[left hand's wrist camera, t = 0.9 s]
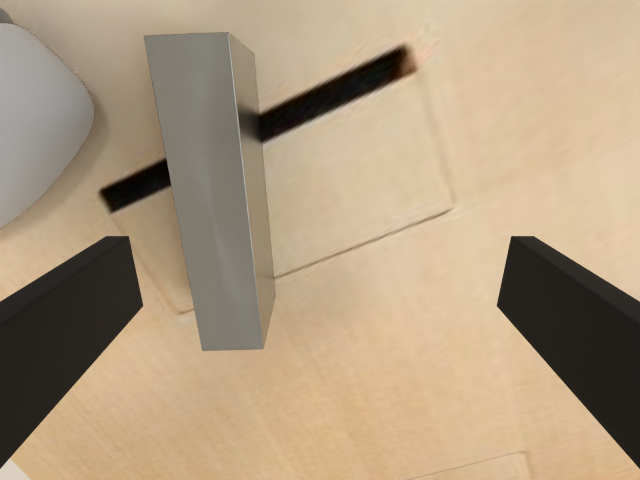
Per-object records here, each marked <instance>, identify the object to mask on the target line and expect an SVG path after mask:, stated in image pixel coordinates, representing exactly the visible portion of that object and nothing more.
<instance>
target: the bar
mask: <svg viewBox="0 0 640 480" xmlns="http://www.w3.org/2000/svg"><path fill="white" fill-rule="evenodd" d="M144 40H145V45H146V50H147V56H148V61H149V67H150V72H151V77H152V83H153V88H154V94H155V99H156V104H157V110H158V115H159V120H160V126H161V131H162V137H163V142H164V147H165V153H166V158H167V164H168V169H169V174H170V180H171V185H172V191H173V196H174V201H175V207H176V212H177V217H178V223H179V228H180V234H181V239H182V244H183V250H184V255H185V261H186V266H187V271H188V277H189V282H190V288H191V293H192V298H193V304H194V309H195V314H196V320H197V325H198V331H199V336H200V341H201V347H202V351H214V350H248V349H264V345H265V340H266V336H267V332H268V327H269V323H270V318H271V314H272V310H273V305H274V301H275V285H274V274H273V263H272V252H271V240H270V229H269V218H268V207H267V196H266V184H265V173H264V162H263V151H262V140H261V128H260V117H259V106H258V95H257V84H256V72H255V61H254V53H253V52H252V51H251V50H249V49H248V48H247V47H246V46H245V45H243V44H242V43H241V42H240V41H238V40H237V39H236V38H235V37H234V36H232V35H231V34H230V33H228V32H220V33H194V34H167V35H145V36H144Z"/></svg>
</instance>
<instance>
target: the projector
mask: <svg viewBox="0 0 640 480" xmlns="http://www.w3.org/2000/svg"><path fill="white" fill-rule="evenodd" d="M94 114H95V112H94V105H93V102H92V99H91V97H90V95H89V93H88V91H87V89H86V87H85V86H84V84H83V83H82V82H81V80H80V79H79V78H78V77H77V76H76V75H75V74H74V73H73V71H72V70H71V69H70V68H69V67H68V66H67V65H66V64H65V63H64V62H63V61H61V60H60V59H59V58H58V57H57V56H56V55H55V54H54V53H53V52H52V51H51V50H50V49H48V48H47V47H46V46H45V45H44V44H43V43H42V42H40V41H39V40H38V39H37V38H36V37H35V36H34V35H32V34H31V33H30V32H29V31H27V30H26V29H24V28H22V27H19V26H16V25H14V24H13V22H12V20H11V18H10V17H9V15H8V14H7V13H6V12H5V11H4V10H3V9H2V8H1V7H0V229H1V228H2V227H4V226H6V225H7V224H9V223H10V222H11V221H13V220H14V219H16V218H17V217H18V216H20V215H21V214H22V213H23V212H25V211H26V210H27V209H28V208H29V207H31V206H32V205H33V204H34V203H35V202H36V201H37V200H38V199H39V198H40V197H41V196H42V195H43V194H44V193H45V192H46V191H47V190H48V189H49V188H50V187H51V185H52V184H53V183H54V182H55V181H56V180H57V179H58V177H59V176H60V175H61V174H62V173H63V171H64V170H65V169H66V168H67V166H68V165H69V164H70V162H71V161H72V159H73V158H74V157H75V155H76V154H77V152H78V151H79V149H80V148H81V146H82V145H83V143H84V141H85V139H86V138H87V136H88V134H89V132H90V129H91V127H92V124H93V121H94Z"/></svg>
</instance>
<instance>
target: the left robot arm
mask: <svg viewBox="0 0 640 480" xmlns="http://www.w3.org/2000/svg"><path fill="white" fill-rule="evenodd" d="M142 307H143V302H142V298H141V293H140V288H139V283H138V279H137V274H136V269H135V264H134V259H133V255H132V250H131V245H130V240H129V236H106V237H104V238H103V239H101V240H100V241H98V242H96V243H95V244H93V245H91V246H90V247H88V248H87V249H85V250H83V251H82V252H80V253H78V254H77V255H75V256H74V257H72V258H70V259H69V260H67V261H65V262H64V263H62V264H61V265H59V266H57V267H56V268H54V269H53V270H51V271H49V272H48V273H46V274H44V275H43V276H41V277H40V278H38V279H36V280H35V281H33V282H31V283H30V284H28V285H27V286H25V287H23V288H22V289H20V290H18V291H17V292H15V293H14V294H12V295H10V296H9V297H7V298H5V299H4V300H2V301H1V302H0V468H1V467H2V466H3V465H4V464H5V463H6V462H7V460H8V459H9V458H10V457H11V456H12V455H13V454H14V453H15V451H16V450H17V449H18V448H19V447H20V446H21V445H22V443H23V442H24V441H25V440H26V439H27V438H28V437H29V435H30V434H31V433H32V432H33V431H34V430H35V429H36V427H37V426H38V425H39V424H40V423H41V422H42V421H43V419H44V418H45V417H46V416H47V415H48V414H49V413H50V411H51V410H52V409H53V408H54V407H55V406H56V405H57V404H58V402H59V401H60V400H61V399H62V398H63V397H64V396H65V394H66V393H67V392H68V391H69V390H70V389H71V388H72V386H73V385H74V384H75V383H76V382H77V381H78V380H79V378H80V377H81V376H82V375H83V374H84V373H85V372H86V370H87V369H88V368H89V367H90V366H91V365H92V364H93V363H94V361H95V360H96V359H97V358H98V357H99V356H100V355H101V353H102V352H103V351H104V350H105V349H106V348H107V347H108V345H109V344H110V343H111V342H112V341H113V340H114V339H115V337H116V336H117V335H118V334H119V333H120V332H121V331H122V329H123V328H124V327H125V326H126V325H127V324H128V323H129V322H130V320H131V319H132V318H133V317H134V316H135V315H136V314H137V312H138V311H139V310H140V309H141V308H142ZM497 307H498V308H499V309H500V310H501V311H502V312H503V314H504V315H505V316H506V317H507V318H508V319H509V320H510V322H511V323H512V324H513V325H514V326H515V327H516V328H517V329H518V331H519V332H520V333H521V334H522V335H523V336H524V337H525V339H526V340H527V341H528V342H529V343H530V344H531V345H532V347H533V348H534V349H535V350H536V351H537V352H538V353H539V355H540V356H541V357H542V358H543V359H544V360H545V361H546V363H547V364H548V365H549V366H550V367H551V368H552V369H553V370H554V372H555V373H556V374H557V375H558V376H559V377H560V378H561V380H562V381H563V382H564V383H565V384H566V385H567V386H568V388H569V389H570V390H571V391H572V392H573V393H574V394H575V396H576V397H577V398H578V399H579V400H580V401H581V402H582V404H583V405H584V406H585V407H586V408H587V409H588V410H589V412H590V413H591V414H592V415H593V416H594V417H595V418H596V419H597V421H598V422H599V423H600V424H601V425H602V426H603V427H604V429H605V430H606V431H607V432H608V433H609V434H610V435H611V437H612V438H613V439H614V440H615V441H616V442H617V443H618V445H619V446H620V447H621V448H622V449H623V450H624V451H625V453H626V454H627V455H628V456H629V457H630V458H631V459H632V460H633V462H634V463H635V464H636V465H637V466H638V467H639V468H640V302H639V301H638V300H636V299H635V298H633V297H631V296H630V295H628V294H626V293H625V292H623V291H622V290H620V289H618V288H617V287H615V286H613V285H612V284H610V283H609V282H607V281H605V280H604V279H602V278H600V277H599V276H597V275H596V274H594V273H592V272H591V271H589V270H587V269H586V268H584V267H583V266H581V265H579V264H578V263H576V262H575V261H573V260H571V259H570V258H568V257H566V256H565V255H563V254H562V253H560V252H558V251H557V250H555V249H553V248H552V247H550V246H549V245H547V244H545V243H544V242H542V241H540V240H539V239H537V238H536V237H534V236H511V240H510V245H509V250H508V255H507V259H506V264H505V269H504V274H503V279H502V283H501V288H500V293H499V298H498V302H497Z"/></svg>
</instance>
